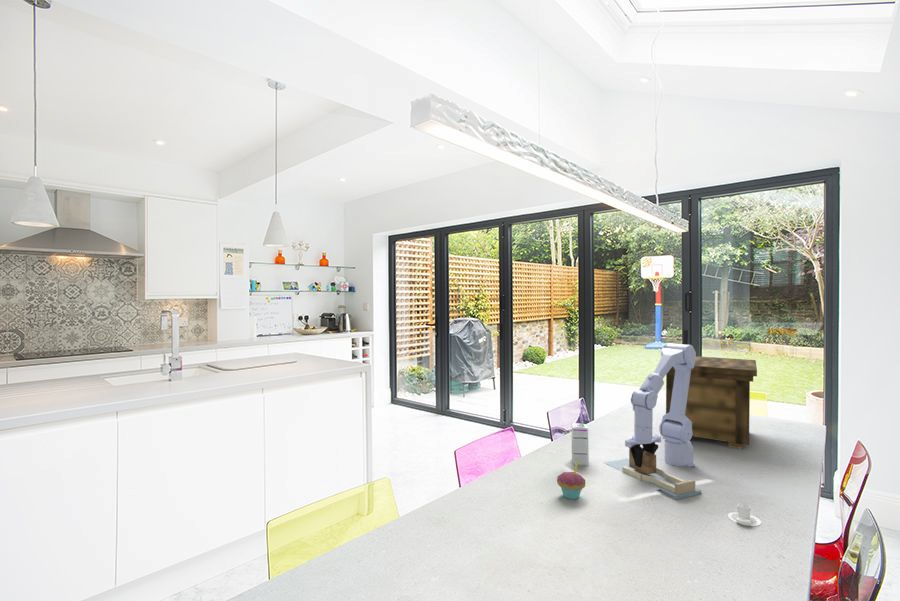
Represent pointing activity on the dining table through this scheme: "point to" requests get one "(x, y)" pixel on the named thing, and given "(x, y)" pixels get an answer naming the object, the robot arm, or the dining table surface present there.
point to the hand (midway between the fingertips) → (643, 465)
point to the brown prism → (644, 463)
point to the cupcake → (571, 483)
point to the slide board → (659, 480)
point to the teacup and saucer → (744, 515)
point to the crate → (718, 398)
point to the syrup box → (580, 444)
